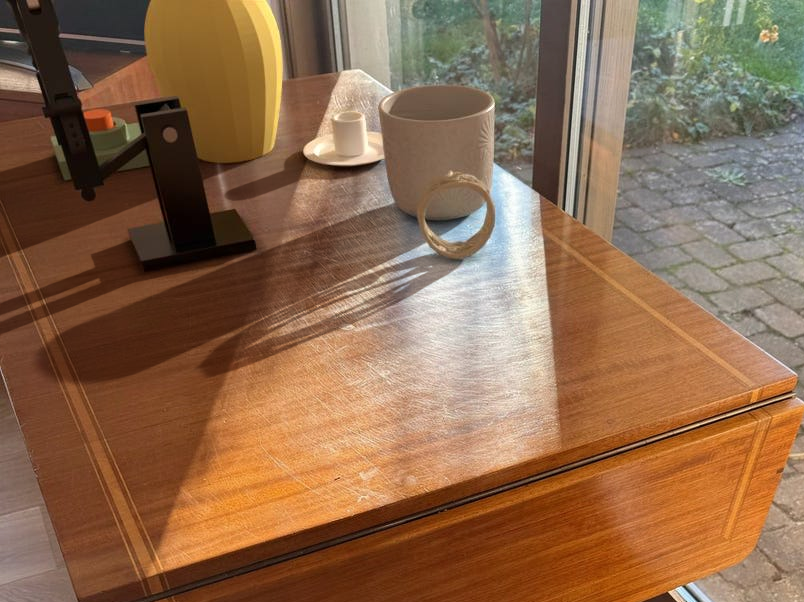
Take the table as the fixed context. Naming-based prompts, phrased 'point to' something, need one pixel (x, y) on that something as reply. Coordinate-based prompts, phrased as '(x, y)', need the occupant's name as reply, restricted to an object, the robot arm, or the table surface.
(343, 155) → the candle holder
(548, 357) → the table surface
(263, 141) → the vase
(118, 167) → the lever
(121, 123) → the control block
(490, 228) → the bracelet
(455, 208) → the planter
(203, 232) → the bracket
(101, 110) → the button
